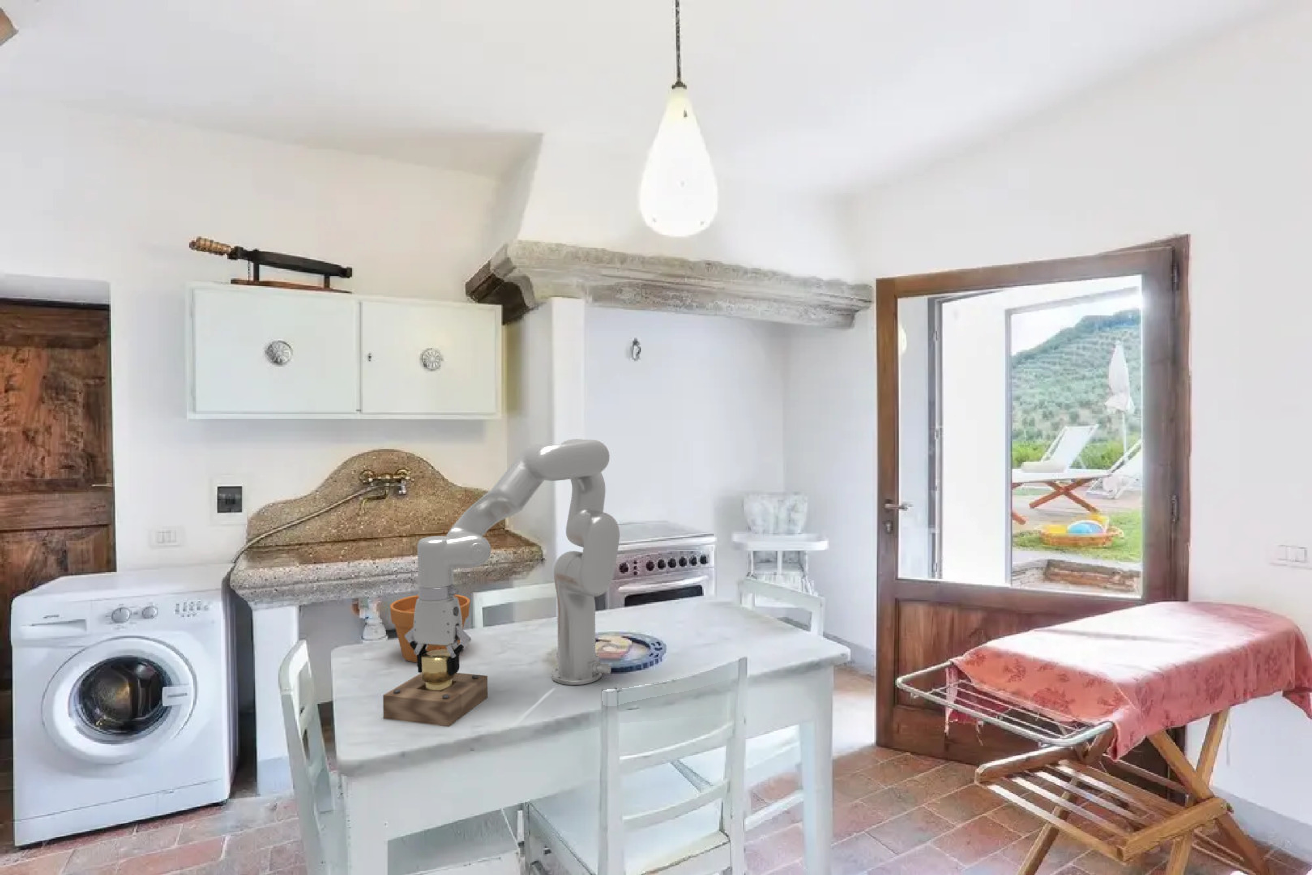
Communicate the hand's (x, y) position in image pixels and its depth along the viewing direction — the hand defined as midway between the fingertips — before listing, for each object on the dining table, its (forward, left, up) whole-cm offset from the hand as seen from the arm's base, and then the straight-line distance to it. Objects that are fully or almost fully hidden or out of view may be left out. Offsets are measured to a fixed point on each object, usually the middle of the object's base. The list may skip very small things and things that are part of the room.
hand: (438, 671), depth 154 cm
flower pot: (+24, -34, -9) cm, 43 cm away
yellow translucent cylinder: (0, 0, -6) cm, 6 cm away
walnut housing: (0, 0, -9) cm, 9 cm away
